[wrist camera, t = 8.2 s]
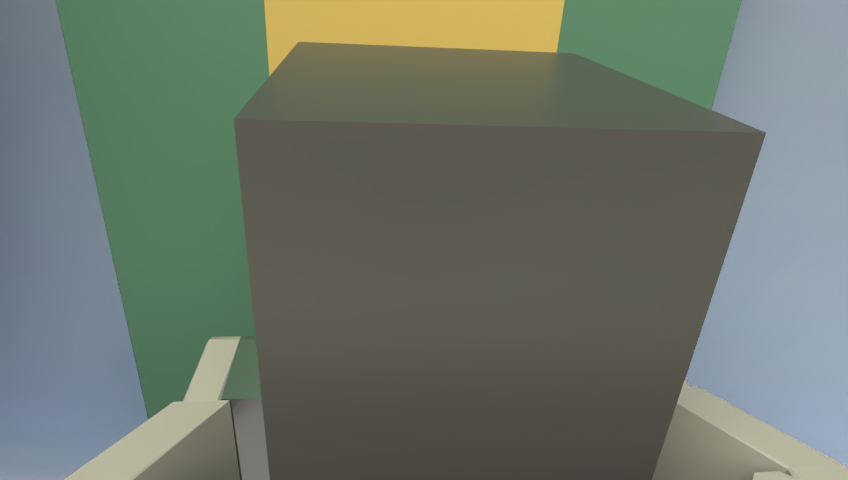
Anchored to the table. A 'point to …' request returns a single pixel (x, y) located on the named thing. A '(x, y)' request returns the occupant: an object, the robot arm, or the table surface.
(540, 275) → the block
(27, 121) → the table surface
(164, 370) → the board
